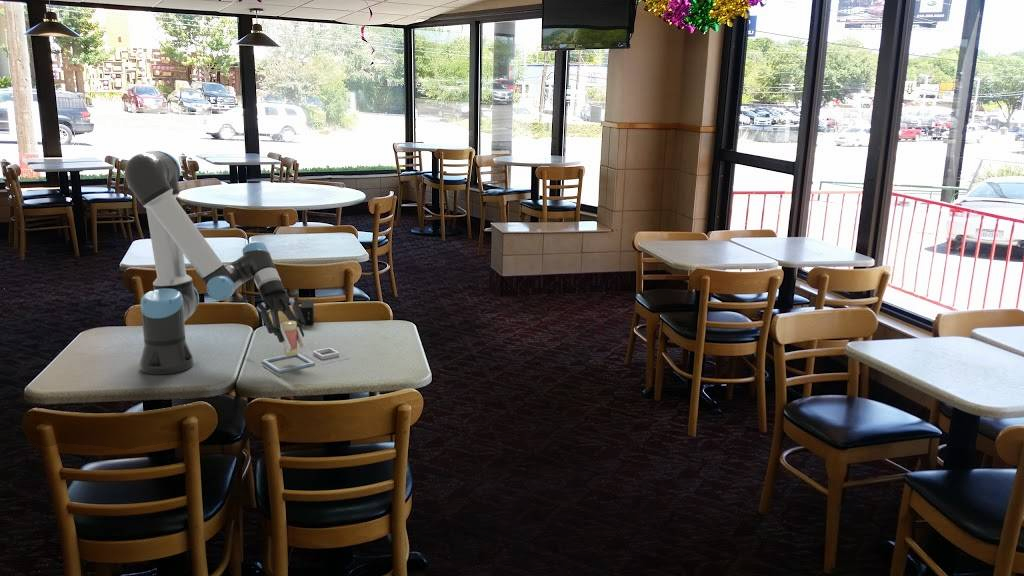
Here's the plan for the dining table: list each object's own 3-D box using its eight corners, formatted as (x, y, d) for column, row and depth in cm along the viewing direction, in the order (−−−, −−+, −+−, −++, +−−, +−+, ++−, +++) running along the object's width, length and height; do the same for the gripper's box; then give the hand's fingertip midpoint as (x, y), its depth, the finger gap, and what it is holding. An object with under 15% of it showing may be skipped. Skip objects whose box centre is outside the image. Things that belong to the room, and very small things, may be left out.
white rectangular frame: (322, 369, 246) (322, 360, 245) (301, 356, 256) (301, 349, 256) (351, 362, 253) (350, 354, 252) (329, 351, 263) (329, 343, 262)
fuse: (287, 356, 242) (285, 325, 240) (281, 353, 245) (279, 322, 243) (300, 353, 245) (298, 323, 242) (294, 350, 248) (292, 319, 245)
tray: (278, 377, 238) (278, 370, 238) (262, 366, 247) (261, 360, 246) (314, 369, 246) (314, 362, 245) (297, 359, 254) (297, 352, 254)
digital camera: (299, 317, 299) (298, 300, 297) (314, 317, 300) (313, 299, 298) (298, 325, 289) (297, 307, 287) (313, 325, 290) (312, 307, 289)
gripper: (291, 287, 258) (318, 348, 250) (240, 296, 247) (266, 360, 239) (298, 275, 252) (325, 337, 245) (246, 283, 242) (272, 348, 234)
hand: (296, 348), depth 242 cm, fingers closed on fuse, 4 cm apart
